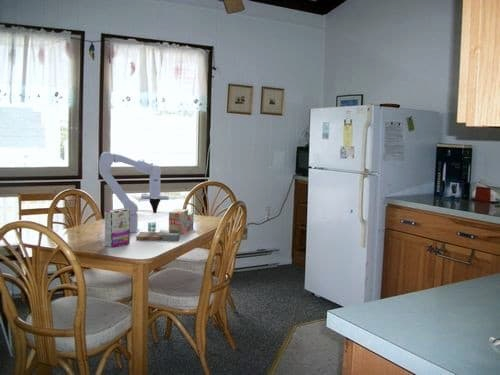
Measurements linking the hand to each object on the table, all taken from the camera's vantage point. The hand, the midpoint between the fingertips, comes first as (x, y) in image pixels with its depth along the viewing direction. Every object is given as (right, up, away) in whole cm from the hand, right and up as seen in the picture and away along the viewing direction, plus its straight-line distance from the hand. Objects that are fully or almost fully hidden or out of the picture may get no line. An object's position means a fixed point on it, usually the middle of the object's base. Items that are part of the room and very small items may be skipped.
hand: (154, 212), depth 254 cm
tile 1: (+8, -10, -19) cm, 23 cm away
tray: (+12, -12, -18) cm, 25 cm away
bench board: (+2, -12, -19) cm, 22 cm away
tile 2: (+13, -12, -19) cm, 25 cm away
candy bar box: (-10, -13, -35) cm, 39 cm away
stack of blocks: (+14, -10, -1) cm, 18 cm away
